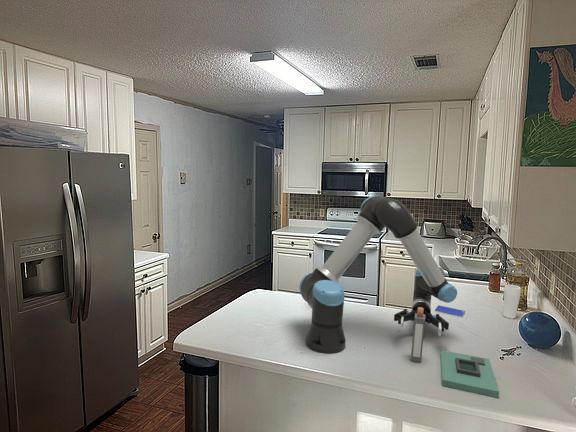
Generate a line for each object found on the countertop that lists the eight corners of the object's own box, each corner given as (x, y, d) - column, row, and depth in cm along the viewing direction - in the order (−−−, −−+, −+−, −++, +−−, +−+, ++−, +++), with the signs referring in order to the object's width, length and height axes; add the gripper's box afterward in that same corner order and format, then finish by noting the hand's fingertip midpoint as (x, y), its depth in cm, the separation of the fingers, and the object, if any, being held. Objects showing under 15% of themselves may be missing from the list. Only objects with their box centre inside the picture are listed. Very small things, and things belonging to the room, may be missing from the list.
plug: (411, 354, 145) (415, 305, 142) (421, 356, 144) (426, 306, 141) (410, 361, 140) (415, 310, 137) (421, 363, 139) (425, 311, 136)
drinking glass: (503, 318, 185) (507, 287, 183) (499, 313, 191) (502, 283, 189) (519, 320, 183) (523, 289, 181) (514, 315, 189) (518, 285, 187)
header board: (440, 355, 145) (441, 346, 145) (488, 364, 140) (489, 355, 140) (442, 385, 125) (443, 376, 124) (498, 397, 120) (499, 387, 119)
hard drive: (465, 310, 190) (438, 304, 197) (462, 315, 183) (434, 309, 190) (465, 313, 190) (438, 307, 197) (462, 318, 183) (434, 312, 190)
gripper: (452, 323, 162) (455, 345, 142) (390, 313, 170) (385, 332, 150) (454, 306, 161) (457, 325, 141) (391, 297, 169) (386, 314, 149)
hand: (420, 329), depth 146 cm, fingers open, 13 cm apart
